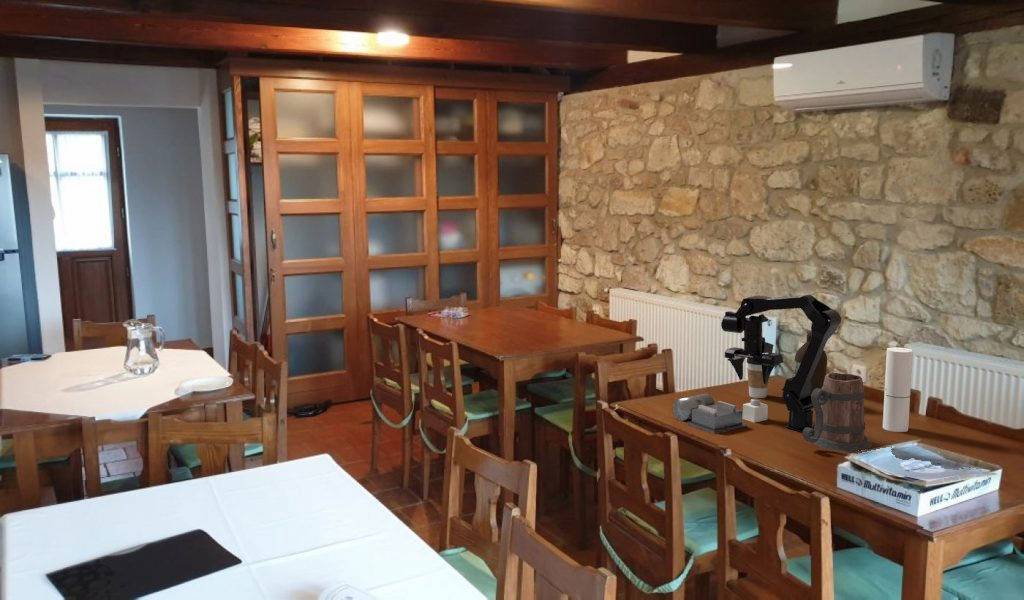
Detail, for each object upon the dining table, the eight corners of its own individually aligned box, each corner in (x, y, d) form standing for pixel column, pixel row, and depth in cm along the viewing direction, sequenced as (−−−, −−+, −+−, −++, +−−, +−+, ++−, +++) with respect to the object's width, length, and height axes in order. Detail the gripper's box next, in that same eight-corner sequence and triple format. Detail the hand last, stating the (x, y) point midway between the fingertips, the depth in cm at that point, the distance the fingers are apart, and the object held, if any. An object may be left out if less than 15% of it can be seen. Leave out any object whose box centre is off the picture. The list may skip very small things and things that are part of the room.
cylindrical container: (902, 425, 253) (907, 347, 249) (911, 432, 246) (916, 352, 242) (879, 424, 254) (883, 347, 250) (887, 431, 247) (891, 352, 243)
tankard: (836, 430, 250) (839, 367, 247) (884, 445, 235) (888, 378, 232) (782, 443, 239) (784, 377, 236) (828, 459, 224) (831, 390, 221)
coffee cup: (773, 398, 285) (774, 357, 283) (749, 399, 285) (750, 357, 283) (766, 392, 294) (767, 352, 291) (742, 393, 294) (743, 352, 292)
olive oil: (808, 395, 288) (810, 327, 285) (832, 402, 279) (835, 332, 275) (786, 400, 283) (788, 330, 280) (810, 407, 274) (813, 335, 270)
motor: (746, 426, 255) (747, 404, 254) (714, 434, 248) (714, 412, 247) (701, 411, 272) (702, 391, 271) (670, 418, 265) (670, 397, 264)
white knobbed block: (767, 419, 262) (767, 400, 261) (754, 422, 259) (754, 403, 258) (755, 416, 266) (756, 396, 265) (742, 419, 263) (743, 399, 262)
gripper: (792, 334, 258) (792, 382, 260) (743, 328, 273) (743, 373, 275) (772, 339, 251) (772, 388, 253) (723, 332, 266) (723, 379, 268)
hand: (753, 381), depth 263 cm, fingers open, 9 cm apart
